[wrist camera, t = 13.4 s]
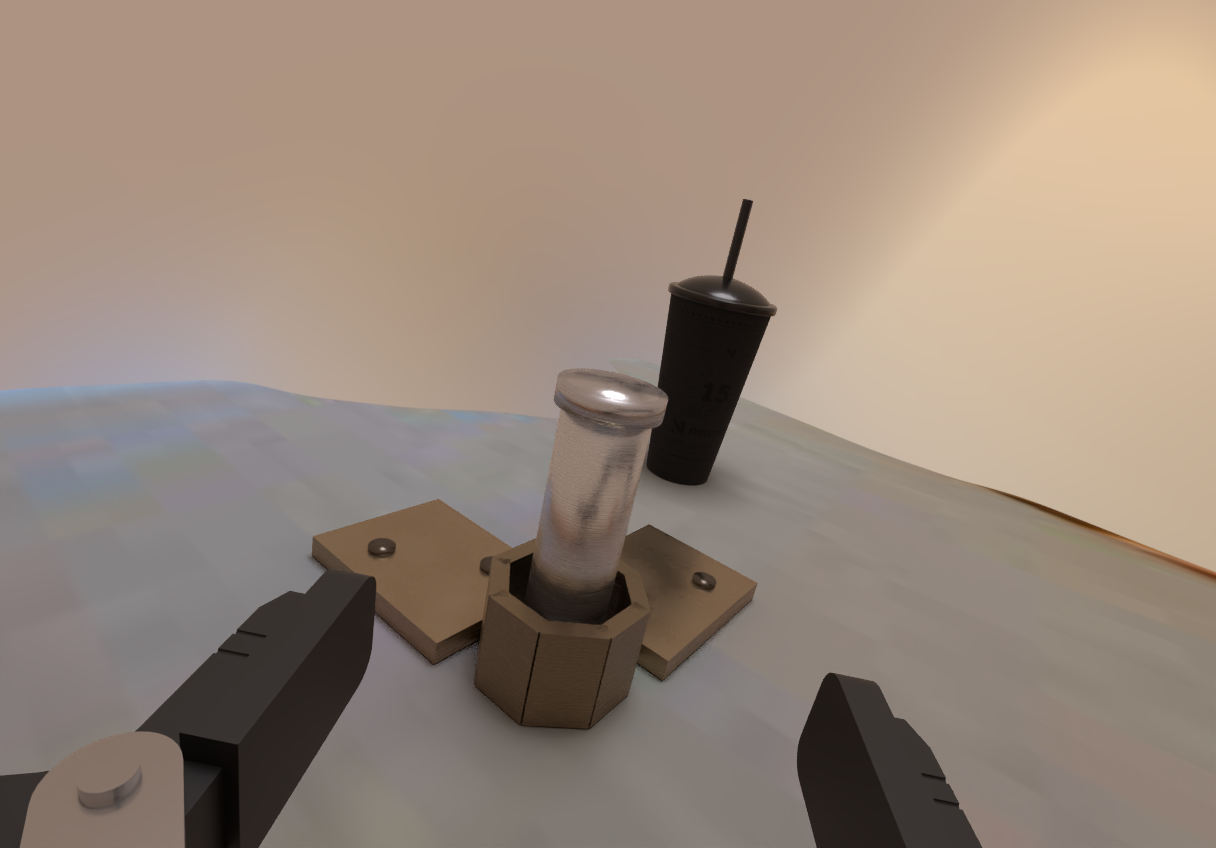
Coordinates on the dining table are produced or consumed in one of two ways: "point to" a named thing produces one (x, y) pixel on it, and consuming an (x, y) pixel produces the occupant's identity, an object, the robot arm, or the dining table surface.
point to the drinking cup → (705, 365)
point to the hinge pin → (590, 491)
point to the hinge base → (518, 636)
